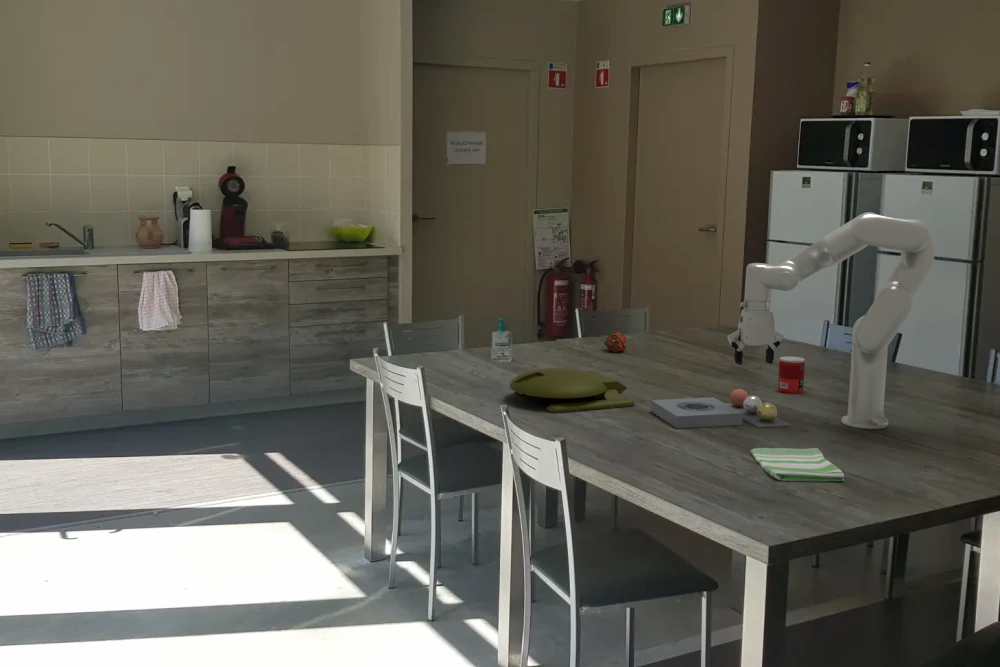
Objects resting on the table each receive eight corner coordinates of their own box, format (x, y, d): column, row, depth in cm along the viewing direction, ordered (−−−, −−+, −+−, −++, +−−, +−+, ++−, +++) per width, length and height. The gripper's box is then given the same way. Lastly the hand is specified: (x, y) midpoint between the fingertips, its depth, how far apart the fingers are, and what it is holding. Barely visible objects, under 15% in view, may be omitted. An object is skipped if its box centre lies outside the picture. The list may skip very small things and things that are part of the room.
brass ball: (780, 423, 290) (781, 404, 289) (762, 424, 289) (763, 405, 288) (770, 418, 296) (771, 400, 295) (753, 419, 294) (754, 400, 293)
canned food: (804, 394, 328) (806, 361, 327) (778, 393, 330) (780, 360, 328) (802, 389, 336) (804, 356, 334) (777, 388, 337) (778, 355, 336)
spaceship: (593, 387, 340) (593, 358, 338) (637, 407, 311) (638, 376, 310) (495, 394, 327) (495, 364, 326) (532, 417, 299) (532, 384, 297)
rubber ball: (751, 408, 308) (752, 390, 307) (734, 409, 306) (735, 391, 305) (743, 404, 313) (743, 386, 312) (726, 405, 312) (727, 387, 311)
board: (742, 424, 290) (742, 413, 289) (676, 428, 285) (677, 416, 285) (712, 408, 309) (713, 397, 308) (650, 411, 305) (651, 400, 304)
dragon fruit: (616, 358, 395) (611, 357, 407) (634, 345, 395) (628, 344, 407) (603, 340, 395) (599, 340, 407) (621, 328, 395) (616, 327, 407)
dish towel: (819, 455, 262) (820, 445, 261) (847, 484, 238) (848, 473, 238) (749, 454, 262) (750, 444, 262) (771, 483, 239) (771, 471, 238)
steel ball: (765, 415, 299) (766, 397, 298) (747, 416, 298) (748, 398, 297) (756, 411, 304) (757, 393, 303) (739, 412, 303) (740, 394, 302)
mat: (791, 426, 289) (791, 424, 289) (758, 427, 286) (758, 426, 286) (746, 403, 316) (746, 402, 316) (716, 405, 313) (716, 403, 313)
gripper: (735, 308, 290) (732, 366, 293) (790, 307, 294) (786, 365, 297) (724, 304, 297) (721, 361, 300) (778, 303, 301) (774, 360, 304)
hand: (753, 363), depth 299 cm, fingers open, 9 cm apart
